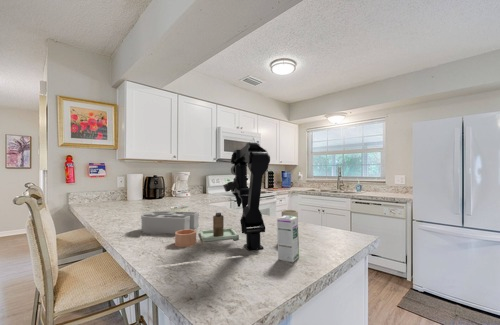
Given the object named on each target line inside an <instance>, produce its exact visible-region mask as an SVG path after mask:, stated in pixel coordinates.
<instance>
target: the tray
mask: <svg viewBox="0 0 500 325" xmlns="http://www.w3.org/2000/svg"><path fill="white" fill-rule="evenodd" d="M199 235H200V238H201V240H202V241H201V242H202V243H203V242H204V243H205V242H213V241H222V240H231V239H232V241H239V240H240V236H239V234H238V233H237V232H236V231H235V230H234V229H233V227H230V228H229V227H228V228H227V227H226V228H225V227H224V236H219V237H214V236H213V229H205V230H199Z"/></svg>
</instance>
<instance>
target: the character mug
mask: <svg viewBox="0 0 500 325" xmlns="http://www.w3.org/2000/svg"><path fill="white" fill-rule="evenodd" d="M298 212H299V211H298V210H295V209H282V210H281V217H282V216H296V217H298V218H299V215H298V214H299V213H298Z"/></svg>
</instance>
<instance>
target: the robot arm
mask: <svg viewBox="0 0 500 325" xmlns="http://www.w3.org/2000/svg"><path fill="white" fill-rule="evenodd" d="M270 162H271V155H270V154H269V152H268V150H267V149H266V148H264V147H263V146H261V145H260V143H259V142H246V144H245V145H244V146H243V147H242V148H241V149H235V150H233V152H232V155H231V158H230V164H231V165H232V166H231V167H230V173H231V174H232V175H233V176H234V178H233V181H228V182H227V183H225V184H223V185H222V186H223V188H224V191H225V192H227V193H229V192H231V194H232V195H233V196H234V198H235V200H236V205H237V207H238V208H240V207H241V206H242V207H241V208H242V214H241V217H240V227H241V234H244V235H246V236H245V237H246V239H245V240H246V243H245V244H243V247H244V248H245V249H246V250H247V251H256V250H263V249H264V246H263V245H262V244H261V233H265V232H266V225H265V223H264V219H263V214H262V213H261V211H260V210H261V209H260V200H261V193H262V186H263V185H262V184H263V176H264V175H265V173H266V172H267V171H268V169H269V165H270ZM248 170H249V172H250V176H249V177H248ZM248 180H249V186H248Z"/></svg>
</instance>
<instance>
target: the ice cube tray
mask: <svg viewBox="0 0 500 325" xmlns="http://www.w3.org/2000/svg"><path fill="white" fill-rule="evenodd" d="M199 216H200V212H199V211H198V212H197V211H172V210H171V211H170V210H169V211H167V210H162V211H159V210H158V211H151V212H146V213H142V214H141V215H140V218H141V233H143V234H147V235H158V234H159V235H160V234H170V235H171V234H174V235H175V232H176V231H180V230H186V229H192V230H197V229H199V225H200V223H199V218H200V217H199Z"/></svg>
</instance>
